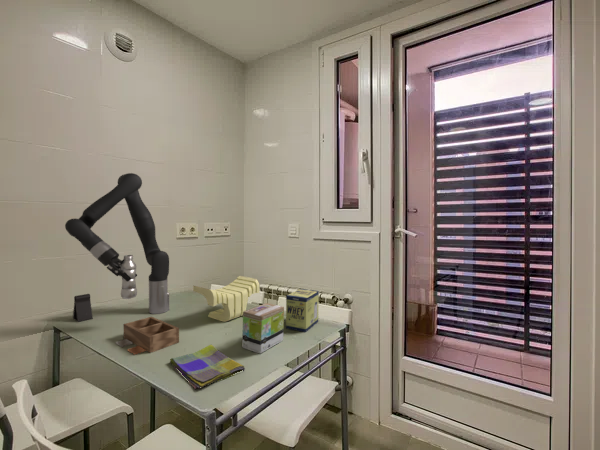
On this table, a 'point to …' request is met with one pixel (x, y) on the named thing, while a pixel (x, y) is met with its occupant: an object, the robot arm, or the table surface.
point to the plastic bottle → (130, 286)
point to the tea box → (262, 327)
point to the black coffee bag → (82, 308)
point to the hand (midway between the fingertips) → (132, 278)
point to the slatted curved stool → (230, 297)
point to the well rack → (149, 335)
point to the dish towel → (206, 366)
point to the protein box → (302, 309)
